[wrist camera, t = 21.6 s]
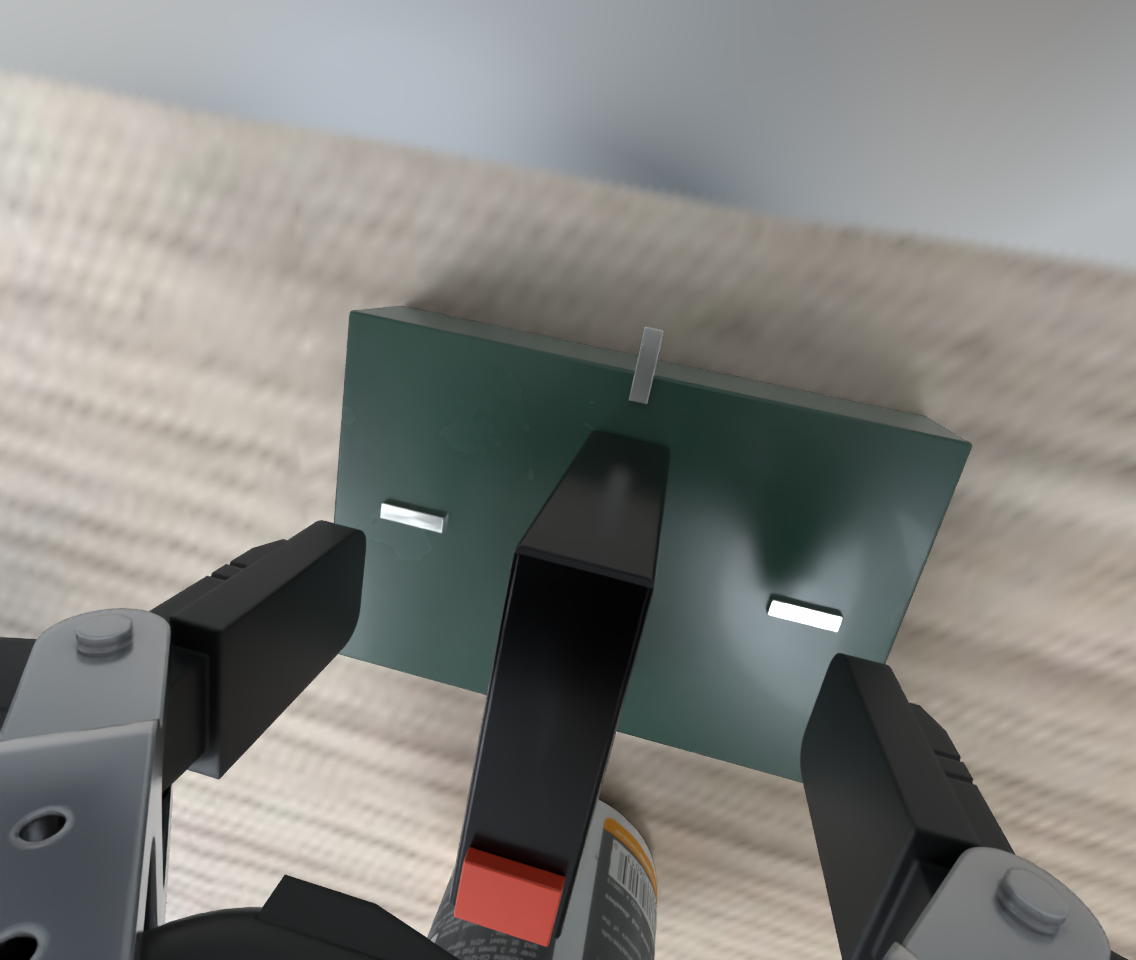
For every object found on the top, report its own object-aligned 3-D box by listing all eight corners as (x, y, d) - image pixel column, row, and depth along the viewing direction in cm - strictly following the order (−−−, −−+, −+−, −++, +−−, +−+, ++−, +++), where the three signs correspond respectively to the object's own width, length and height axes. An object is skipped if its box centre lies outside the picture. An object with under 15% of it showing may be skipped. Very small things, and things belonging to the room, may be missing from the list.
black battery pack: (592, 428, 13) (507, 554, 7) (672, 446, 13) (655, 592, 7) (541, 664, 15) (439, 925, 9) (611, 684, 14) (555, 963, 9)
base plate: (942, 377, 14) (997, 398, 11) (804, 747, 17) (823, 829, 14) (404, 267, 15) (347, 265, 13) (368, 628, 18) (317, 684, 16)
